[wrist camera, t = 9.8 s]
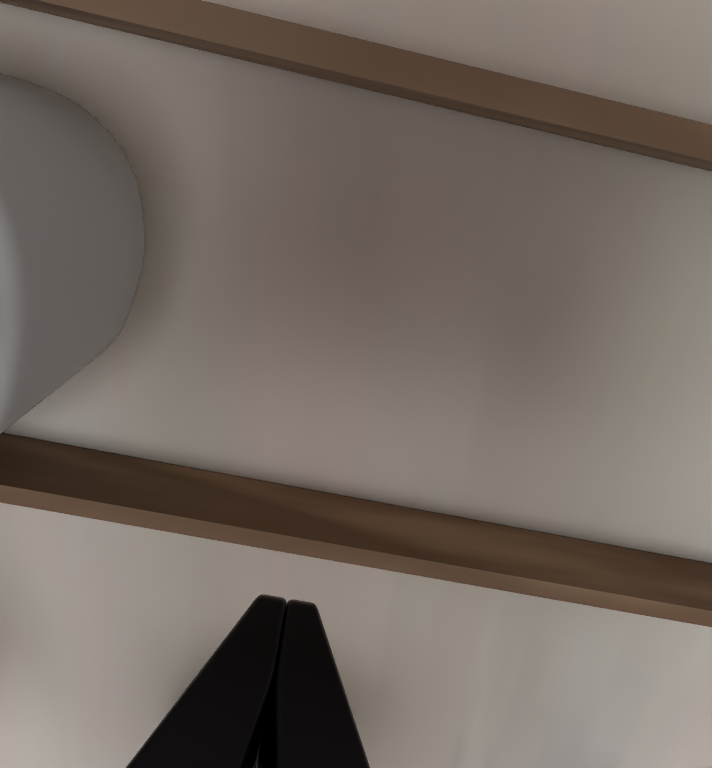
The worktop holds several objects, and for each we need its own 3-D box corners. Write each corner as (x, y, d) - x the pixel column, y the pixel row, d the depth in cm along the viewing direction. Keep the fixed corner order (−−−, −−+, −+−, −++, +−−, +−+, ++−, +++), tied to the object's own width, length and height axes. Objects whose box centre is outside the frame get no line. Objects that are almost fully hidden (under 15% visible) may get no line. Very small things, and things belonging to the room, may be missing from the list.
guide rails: (730, 583, 24) (795, 662, 20) (-218, 411, 21) (-338, 467, 18) (988, 204, 17) (1154, 221, 14) (-366, -124, 14) (-614, -213, 11)
